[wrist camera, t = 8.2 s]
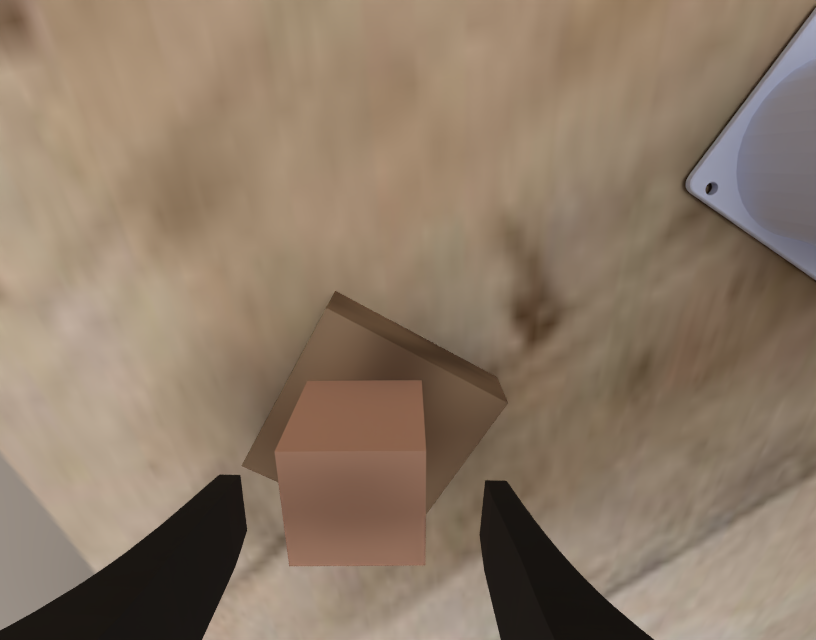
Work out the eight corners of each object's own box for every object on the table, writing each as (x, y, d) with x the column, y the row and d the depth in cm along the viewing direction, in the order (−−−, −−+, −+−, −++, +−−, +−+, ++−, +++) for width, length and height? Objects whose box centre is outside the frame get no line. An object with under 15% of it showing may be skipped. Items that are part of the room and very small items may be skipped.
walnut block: (495, 372, 22) (507, 403, 20) (407, 496, 25) (407, 539, 22) (337, 288, 21) (326, 307, 18) (261, 429, 23) (241, 465, 21)
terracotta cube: (421, 380, 19) (426, 450, 14) (421, 474, 21) (425, 565, 16) (307, 380, 19) (274, 451, 14) (316, 475, 21) (289, 566, 16)
